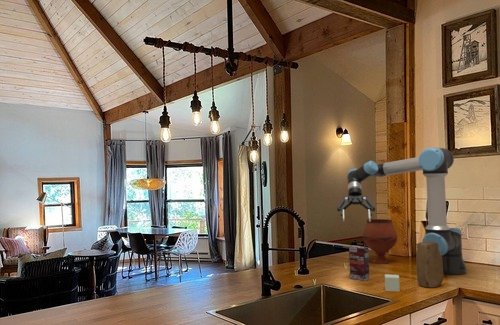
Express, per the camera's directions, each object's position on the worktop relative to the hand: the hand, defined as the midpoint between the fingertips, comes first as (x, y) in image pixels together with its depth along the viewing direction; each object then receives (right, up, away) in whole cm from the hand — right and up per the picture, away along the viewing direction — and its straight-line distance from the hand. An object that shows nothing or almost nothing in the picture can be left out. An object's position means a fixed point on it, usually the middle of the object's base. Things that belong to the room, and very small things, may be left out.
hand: (356, 220), depth 222 cm
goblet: (+20, -28, +22) cm, 41 cm away
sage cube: (+7, -26, -36) cm, 45 cm away
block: (+26, -26, -32) cm, 49 cm away
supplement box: (-2, -27, -16) cm, 32 cm away
